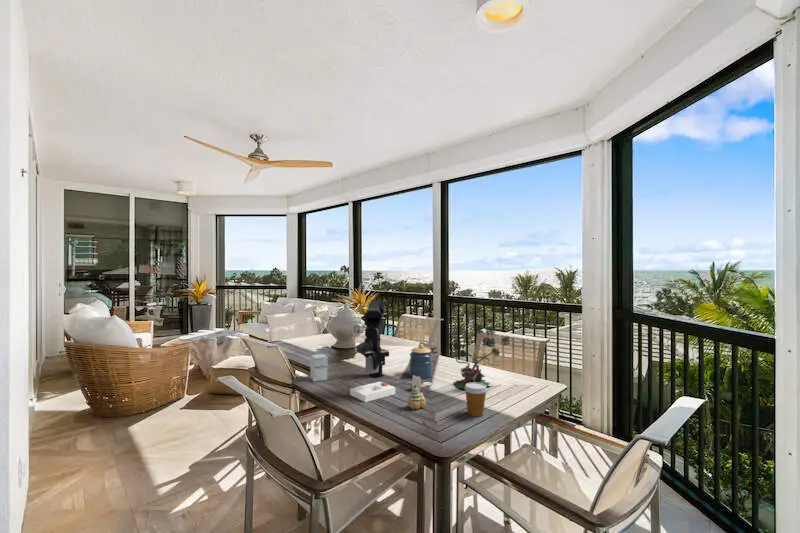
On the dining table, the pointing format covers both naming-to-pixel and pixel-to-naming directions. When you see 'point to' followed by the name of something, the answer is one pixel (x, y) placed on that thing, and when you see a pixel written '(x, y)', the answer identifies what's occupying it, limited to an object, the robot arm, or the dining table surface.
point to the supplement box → (318, 367)
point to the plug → (370, 366)
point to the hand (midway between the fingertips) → (372, 368)
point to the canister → (421, 362)
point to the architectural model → (417, 383)
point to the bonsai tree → (473, 374)
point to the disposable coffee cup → (475, 398)
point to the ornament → (416, 399)
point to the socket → (372, 391)
